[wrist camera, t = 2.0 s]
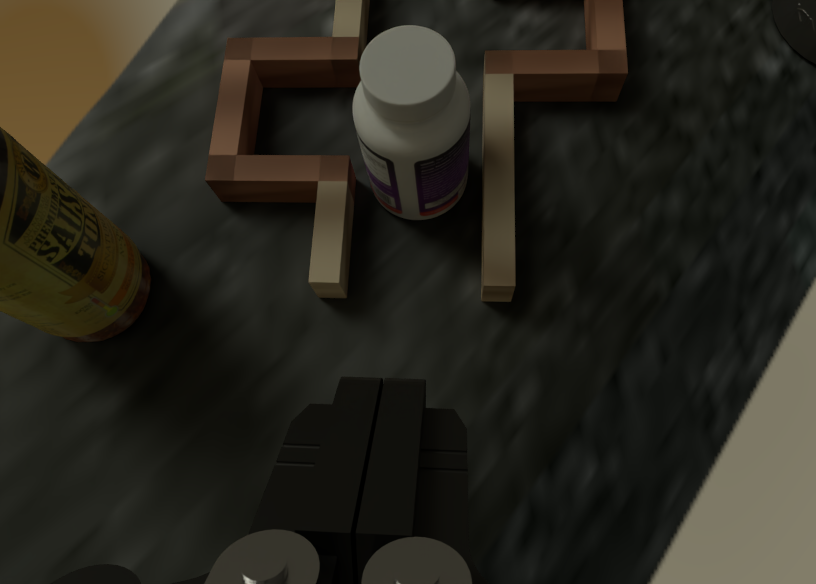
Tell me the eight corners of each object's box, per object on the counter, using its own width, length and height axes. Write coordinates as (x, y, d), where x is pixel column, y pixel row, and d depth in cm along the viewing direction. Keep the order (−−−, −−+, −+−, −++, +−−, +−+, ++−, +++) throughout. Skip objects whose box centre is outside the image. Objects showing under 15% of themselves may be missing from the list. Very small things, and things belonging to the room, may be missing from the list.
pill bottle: (470, 138, 36) (478, 12, 26) (464, 226, 34) (469, 124, 25) (376, 133, 36) (350, 8, 27) (364, 219, 34) (333, 117, 25)
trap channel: (630, 304, 32) (654, 278, 28) (207, 295, 34) (176, 269, 30) (603, -88, 40) (619, -149, 36) (263, -80, 42) (244, -138, 38)
